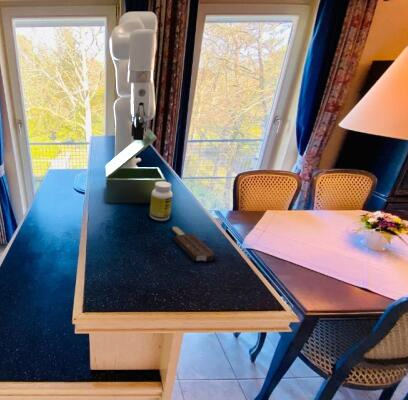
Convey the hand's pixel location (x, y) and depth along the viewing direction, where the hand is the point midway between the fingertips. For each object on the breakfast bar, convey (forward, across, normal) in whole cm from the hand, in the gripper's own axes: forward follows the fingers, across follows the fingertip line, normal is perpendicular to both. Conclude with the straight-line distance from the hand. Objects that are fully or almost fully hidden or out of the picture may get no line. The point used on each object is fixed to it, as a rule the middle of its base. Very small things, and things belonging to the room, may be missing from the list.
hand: (137, 137), depth 88 cm
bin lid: (+6, 0, +2) cm, 6 cm away
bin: (+21, 0, 0) cm, 21 cm away
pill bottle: (+22, -16, -6) cm, 27 cm away
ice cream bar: (+22, -31, -11) cm, 39 cm away
